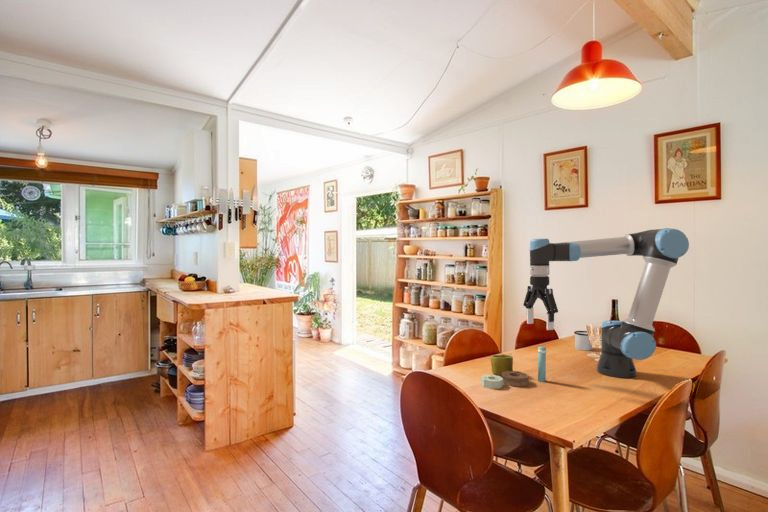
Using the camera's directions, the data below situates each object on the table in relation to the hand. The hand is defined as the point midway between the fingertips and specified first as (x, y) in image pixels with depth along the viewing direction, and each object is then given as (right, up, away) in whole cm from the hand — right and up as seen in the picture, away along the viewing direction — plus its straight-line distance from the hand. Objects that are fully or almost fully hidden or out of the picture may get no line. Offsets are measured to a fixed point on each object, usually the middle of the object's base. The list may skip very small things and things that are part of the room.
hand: (539, 326), depth 169 cm
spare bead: (-21, -23, -6) cm, 32 cm away
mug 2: (+45, -22, +53) cm, 73 cm away
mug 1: (-13, -23, +10) cm, 28 cm away
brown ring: (-11, -23, -2) cm, 25 cm away
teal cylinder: (+1, -23, 0) cm, 23 cm away
